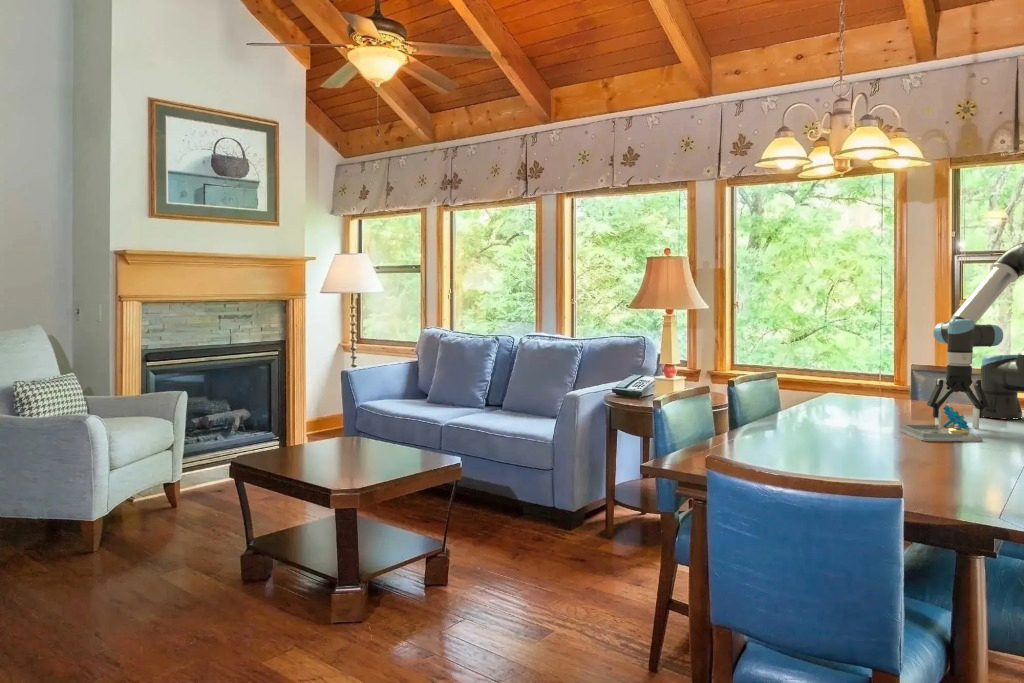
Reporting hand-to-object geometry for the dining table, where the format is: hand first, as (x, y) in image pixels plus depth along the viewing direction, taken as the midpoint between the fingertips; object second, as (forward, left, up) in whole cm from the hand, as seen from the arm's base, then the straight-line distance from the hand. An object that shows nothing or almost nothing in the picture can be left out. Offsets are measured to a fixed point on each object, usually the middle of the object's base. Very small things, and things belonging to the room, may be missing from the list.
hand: (956, 427), depth 260 cm
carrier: (+13, +15, 0) cm, 20 cm away
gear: (0, 0, 0) cm, 1 cm away
